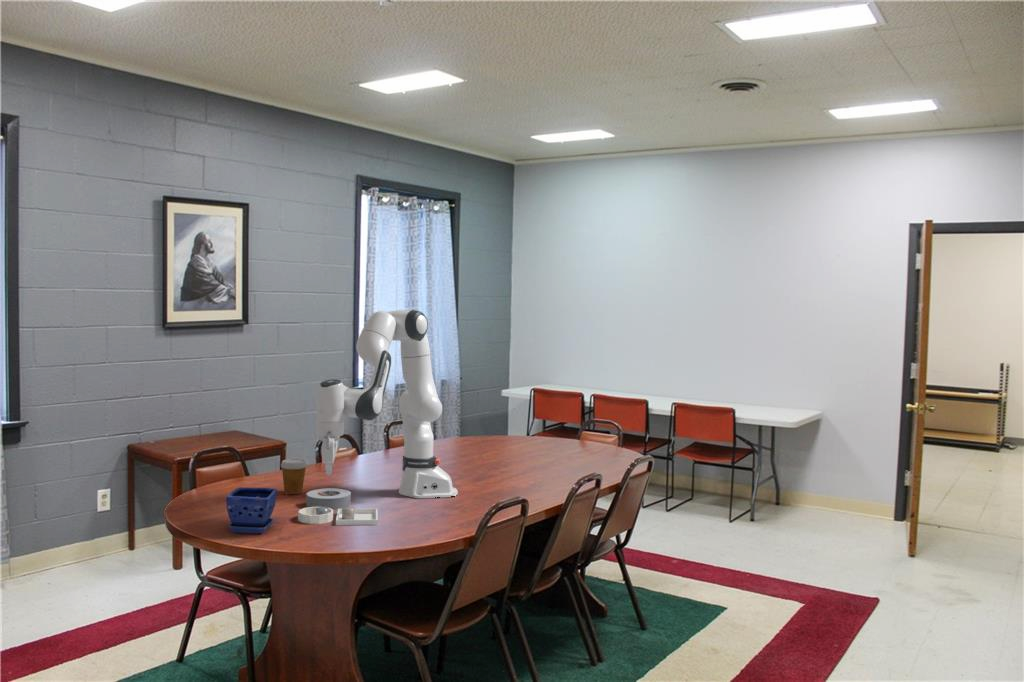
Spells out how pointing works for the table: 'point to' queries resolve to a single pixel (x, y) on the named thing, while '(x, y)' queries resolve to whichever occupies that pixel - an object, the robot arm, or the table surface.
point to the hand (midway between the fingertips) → (329, 471)
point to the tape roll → (329, 498)
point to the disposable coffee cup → (293, 475)
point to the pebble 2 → (348, 513)
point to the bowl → (314, 516)
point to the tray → (359, 517)
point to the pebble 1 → (321, 510)
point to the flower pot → (251, 509)
